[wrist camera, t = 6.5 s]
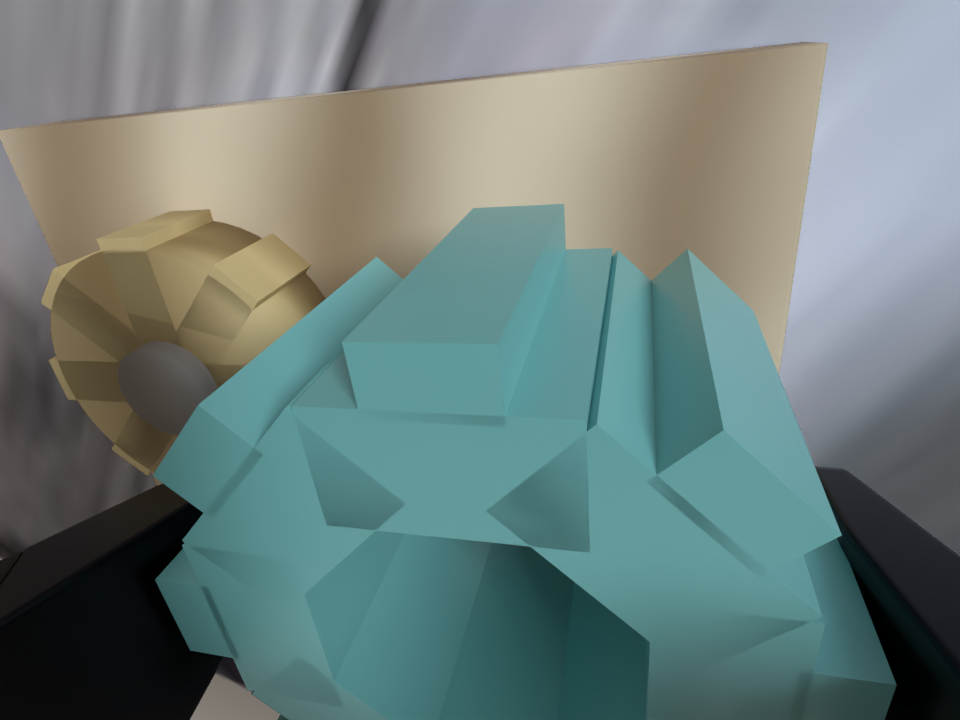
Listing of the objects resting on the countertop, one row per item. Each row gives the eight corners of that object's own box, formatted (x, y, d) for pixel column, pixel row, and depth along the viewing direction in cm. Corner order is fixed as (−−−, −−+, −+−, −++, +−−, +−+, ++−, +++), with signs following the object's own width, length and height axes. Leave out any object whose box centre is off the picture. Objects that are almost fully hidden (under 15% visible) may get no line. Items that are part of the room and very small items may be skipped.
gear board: (804, 42, 10) (975, 51, 5) (743, 503, 14) (798, 759, 9) (55, 122, 14) (-282, 172, 9) (193, 461, 19) (22, 623, 13)
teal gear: (827, 191, 7) (1013, 351, 3) (757, 619, 10) (814, 919, 7) (275, 217, 9) (32, 337, 5) (369, 572, 12) (258, 787, 8)
